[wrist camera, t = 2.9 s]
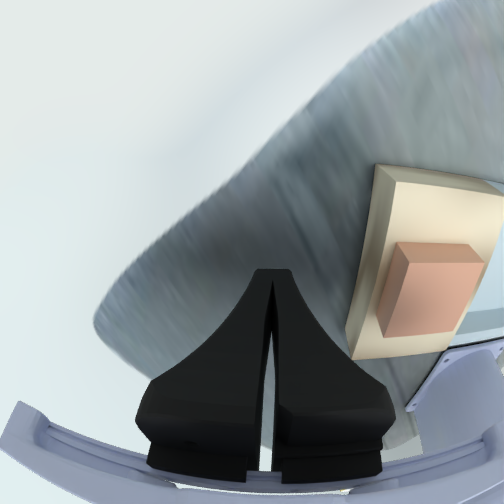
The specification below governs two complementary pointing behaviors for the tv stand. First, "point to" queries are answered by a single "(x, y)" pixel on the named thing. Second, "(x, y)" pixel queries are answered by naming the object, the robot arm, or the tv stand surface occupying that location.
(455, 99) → the tv stand surface
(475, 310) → the box
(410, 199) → the beige wooden block
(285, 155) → the tv stand surface
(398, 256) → the tile
